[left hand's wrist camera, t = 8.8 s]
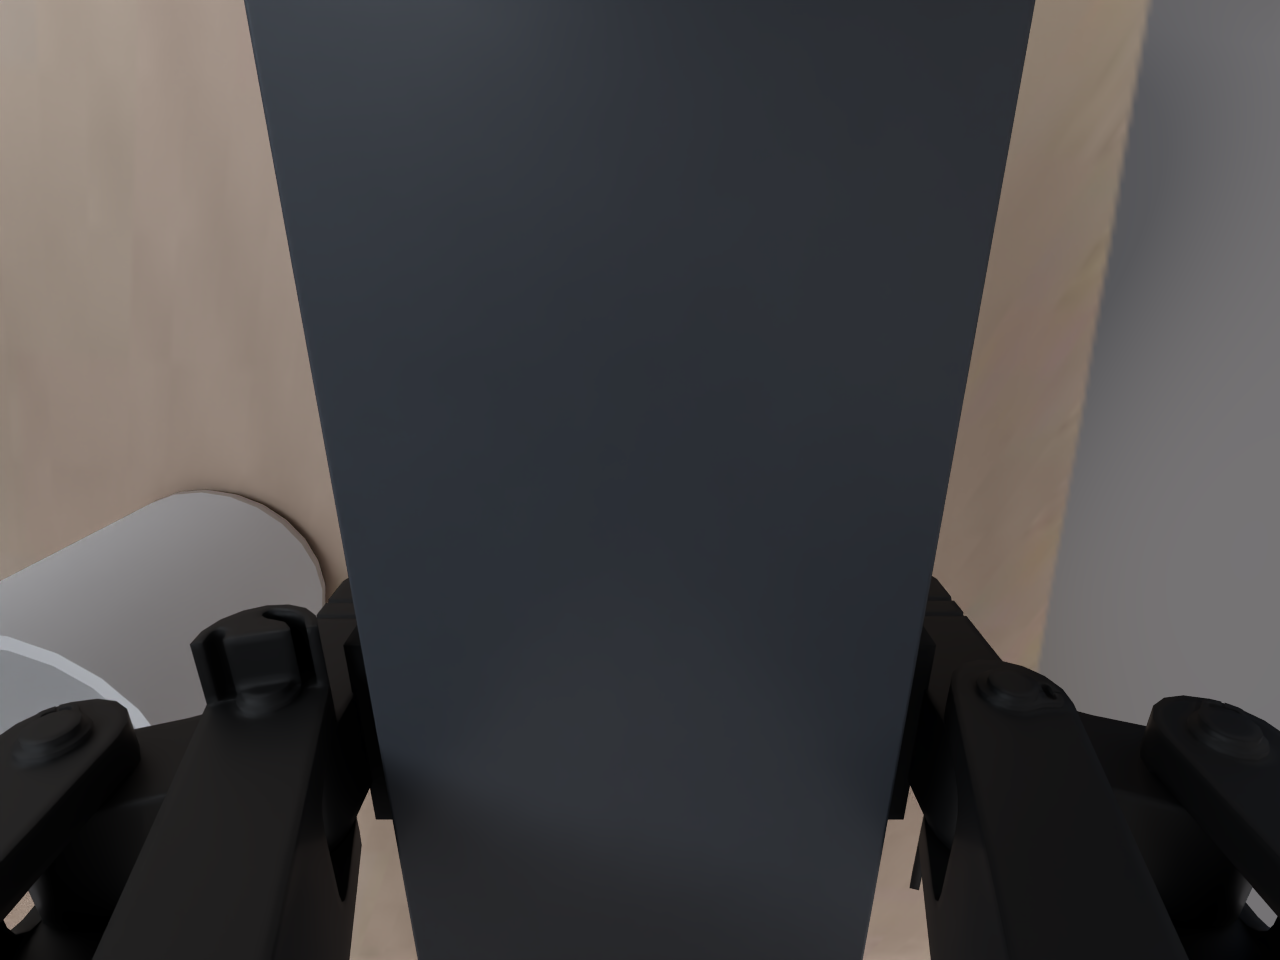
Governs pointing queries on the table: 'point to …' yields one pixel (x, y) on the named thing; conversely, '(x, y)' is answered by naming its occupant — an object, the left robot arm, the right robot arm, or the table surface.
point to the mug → (145, 605)
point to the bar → (639, 435)
